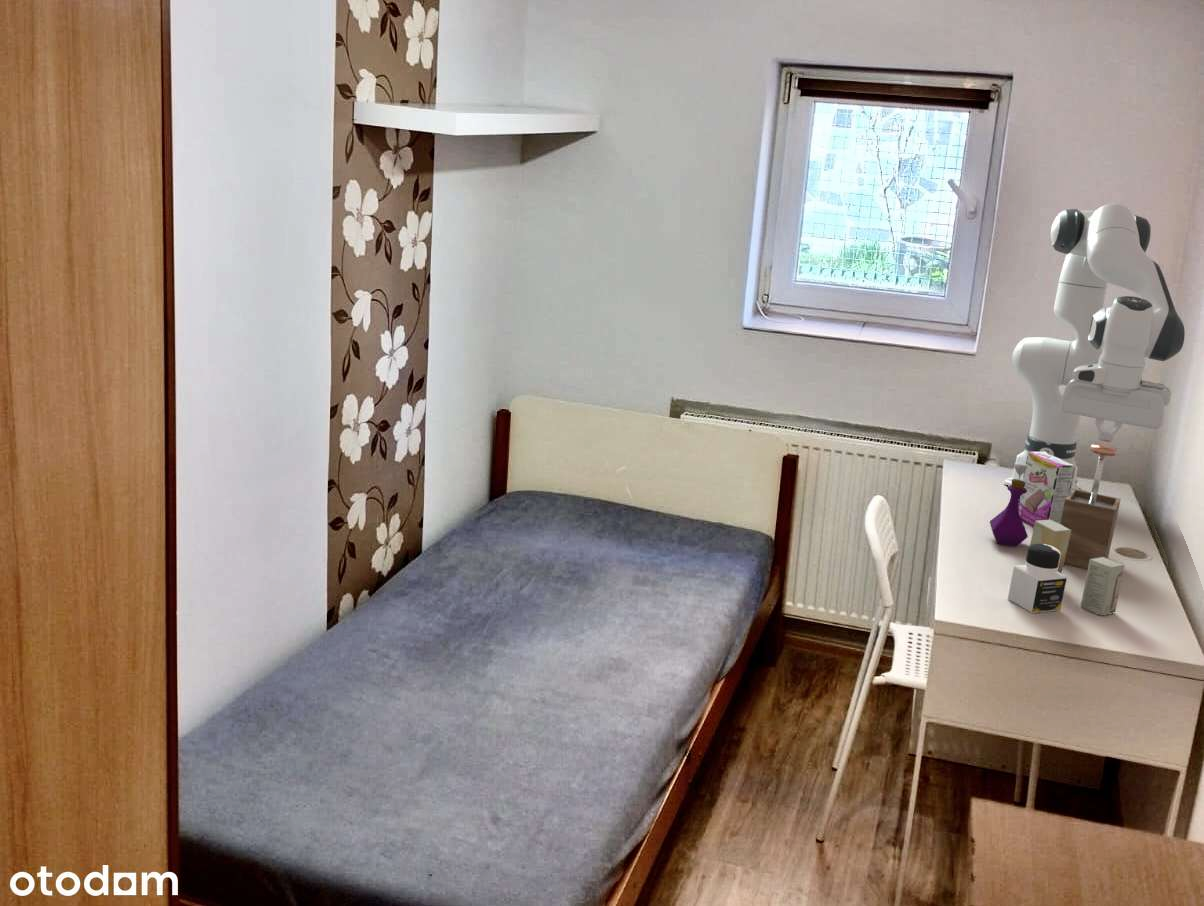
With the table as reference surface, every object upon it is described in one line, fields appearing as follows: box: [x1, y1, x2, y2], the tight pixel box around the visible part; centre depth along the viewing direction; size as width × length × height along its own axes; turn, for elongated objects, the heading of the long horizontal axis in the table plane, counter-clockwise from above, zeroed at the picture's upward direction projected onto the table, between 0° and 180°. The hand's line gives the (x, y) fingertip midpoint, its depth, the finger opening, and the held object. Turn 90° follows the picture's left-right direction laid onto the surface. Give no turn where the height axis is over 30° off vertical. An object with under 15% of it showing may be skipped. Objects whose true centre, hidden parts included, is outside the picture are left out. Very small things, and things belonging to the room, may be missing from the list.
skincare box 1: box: [1029, 520, 1071, 574], centre depth 254 cm, size 6×4×12 cm
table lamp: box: [1074, 442, 1118, 508], centre depth 265 cm, size 8×8×13 cm
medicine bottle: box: [1007, 544, 1068, 614], centre depth 241 cm, size 7×7×12 cm
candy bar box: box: [1018, 451, 1075, 528], centre depth 289 cm, size 11×5×16 cm, turn 20°
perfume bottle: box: [989, 463, 1029, 548], centre depth 275 cm, size 8×8×18 cm
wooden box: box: [1060, 489, 1122, 571], centre depth 268 cm, size 10×10×14 cm
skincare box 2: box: [1080, 557, 1125, 616], centre depth 242 cm, size 5×4×10 cm
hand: (1105, 440), depth 263 cm, fingers closed
